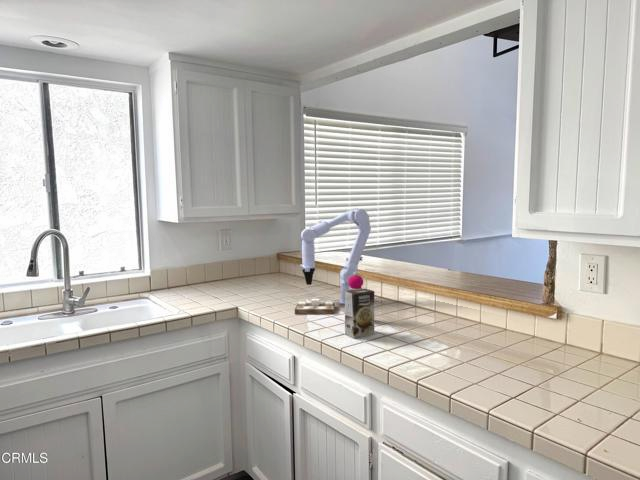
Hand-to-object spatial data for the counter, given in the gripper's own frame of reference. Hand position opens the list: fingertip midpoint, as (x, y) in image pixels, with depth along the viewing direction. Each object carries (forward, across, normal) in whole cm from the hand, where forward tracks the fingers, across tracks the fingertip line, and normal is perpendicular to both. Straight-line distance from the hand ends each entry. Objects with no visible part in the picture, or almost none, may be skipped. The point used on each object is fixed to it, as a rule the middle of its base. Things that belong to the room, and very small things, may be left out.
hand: (309, 284), depth 205 cm
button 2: (+9, +9, +9) cm, 16 cm away
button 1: (+9, +9, -2) cm, 13 cm away
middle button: (+8, +9, +4) cm, 12 cm away
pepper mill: (+10, +26, +21) cm, 35 cm away
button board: (+9, +10, +4) cm, 15 cm away
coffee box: (+10, +43, +22) cm, 49 cm away
